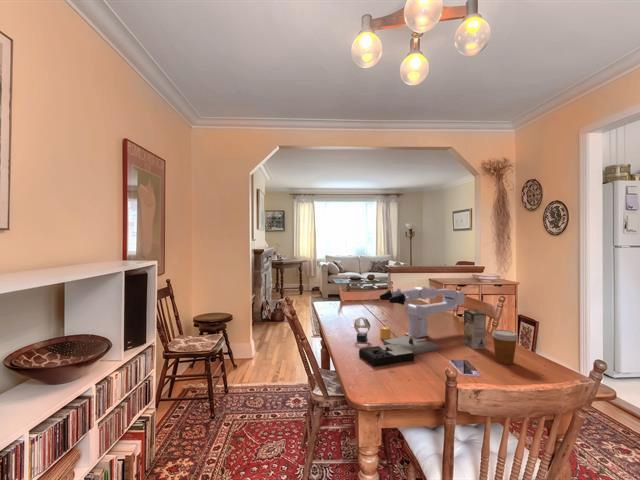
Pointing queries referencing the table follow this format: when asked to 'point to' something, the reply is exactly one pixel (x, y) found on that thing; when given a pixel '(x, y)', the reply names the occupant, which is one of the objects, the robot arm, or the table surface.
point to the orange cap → (385, 333)
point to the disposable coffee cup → (504, 345)
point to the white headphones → (358, 324)
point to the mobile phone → (465, 368)
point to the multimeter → (386, 355)
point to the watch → (362, 335)
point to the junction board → (416, 347)
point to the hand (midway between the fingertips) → (384, 299)
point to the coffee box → (474, 329)
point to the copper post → (411, 339)
